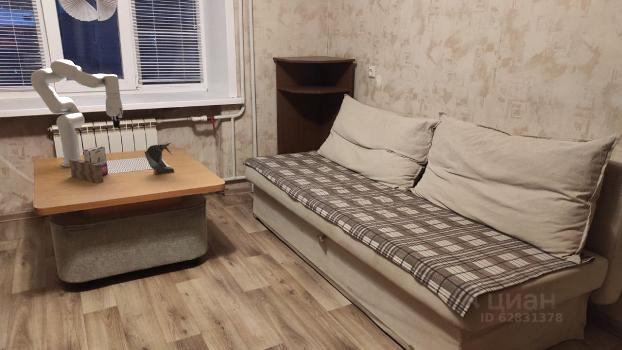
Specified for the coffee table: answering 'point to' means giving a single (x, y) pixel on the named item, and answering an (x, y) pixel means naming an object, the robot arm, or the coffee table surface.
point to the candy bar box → (97, 157)
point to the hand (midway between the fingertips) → (116, 126)
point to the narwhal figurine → (157, 158)
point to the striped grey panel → (86, 170)
